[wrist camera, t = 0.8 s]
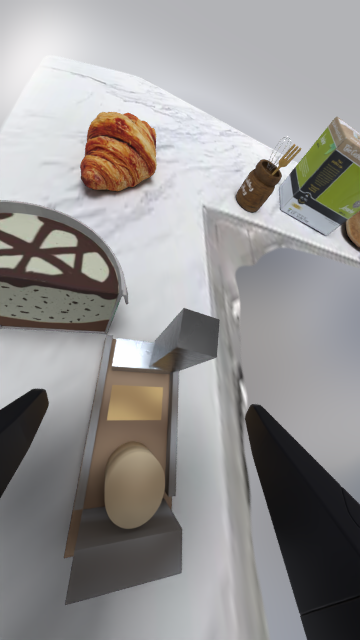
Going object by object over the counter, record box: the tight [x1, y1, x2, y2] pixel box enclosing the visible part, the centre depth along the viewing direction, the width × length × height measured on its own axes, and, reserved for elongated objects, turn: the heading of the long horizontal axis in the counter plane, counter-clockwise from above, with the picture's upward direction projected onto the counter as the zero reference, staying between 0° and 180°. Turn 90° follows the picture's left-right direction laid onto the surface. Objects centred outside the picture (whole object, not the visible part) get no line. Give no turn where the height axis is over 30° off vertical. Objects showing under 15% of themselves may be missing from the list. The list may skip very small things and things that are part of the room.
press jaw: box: [112, 308, 219, 374], centre depth 15 cm, size 3×6×10 cm, turn 88°
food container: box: [0, 200, 128, 334], centre depth 16 cm, size 12×6×10 cm, turn 93°
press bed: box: [64, 335, 182, 605], centre depth 16 cm, size 16×8×6 cm, turn 178°
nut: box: [105, 441, 165, 529], centre depth 14 cm, size 4×4×4 cm
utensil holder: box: [236, 138, 301, 212], centre depth 35 cm, size 6×6×12 cm
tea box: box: [279, 117, 360, 235], centre depth 42 cm, size 15×10×15 cm, turn 78°
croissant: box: [80, 112, 157, 191], centre depth 29 cm, size 21×10×8 cm, turn 159°
